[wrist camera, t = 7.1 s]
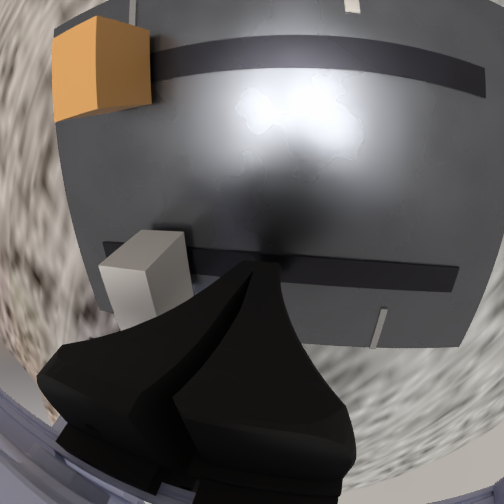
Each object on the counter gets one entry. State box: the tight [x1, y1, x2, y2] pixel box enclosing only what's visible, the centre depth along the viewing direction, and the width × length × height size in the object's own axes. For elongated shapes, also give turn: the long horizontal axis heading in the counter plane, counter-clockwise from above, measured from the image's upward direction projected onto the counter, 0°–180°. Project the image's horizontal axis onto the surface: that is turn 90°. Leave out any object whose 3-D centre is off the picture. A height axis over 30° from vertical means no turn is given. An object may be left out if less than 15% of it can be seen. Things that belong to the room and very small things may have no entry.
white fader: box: [98, 230, 193, 331], centre depth 11 cm, size 3×2×3 cm, turn 2°
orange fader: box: [52, 16, 152, 123], centre depth 7 cm, size 3×2×3 cm, turn 2°
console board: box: [54, 0, 504, 349], centre depth 10 cm, size 16×20×2 cm
